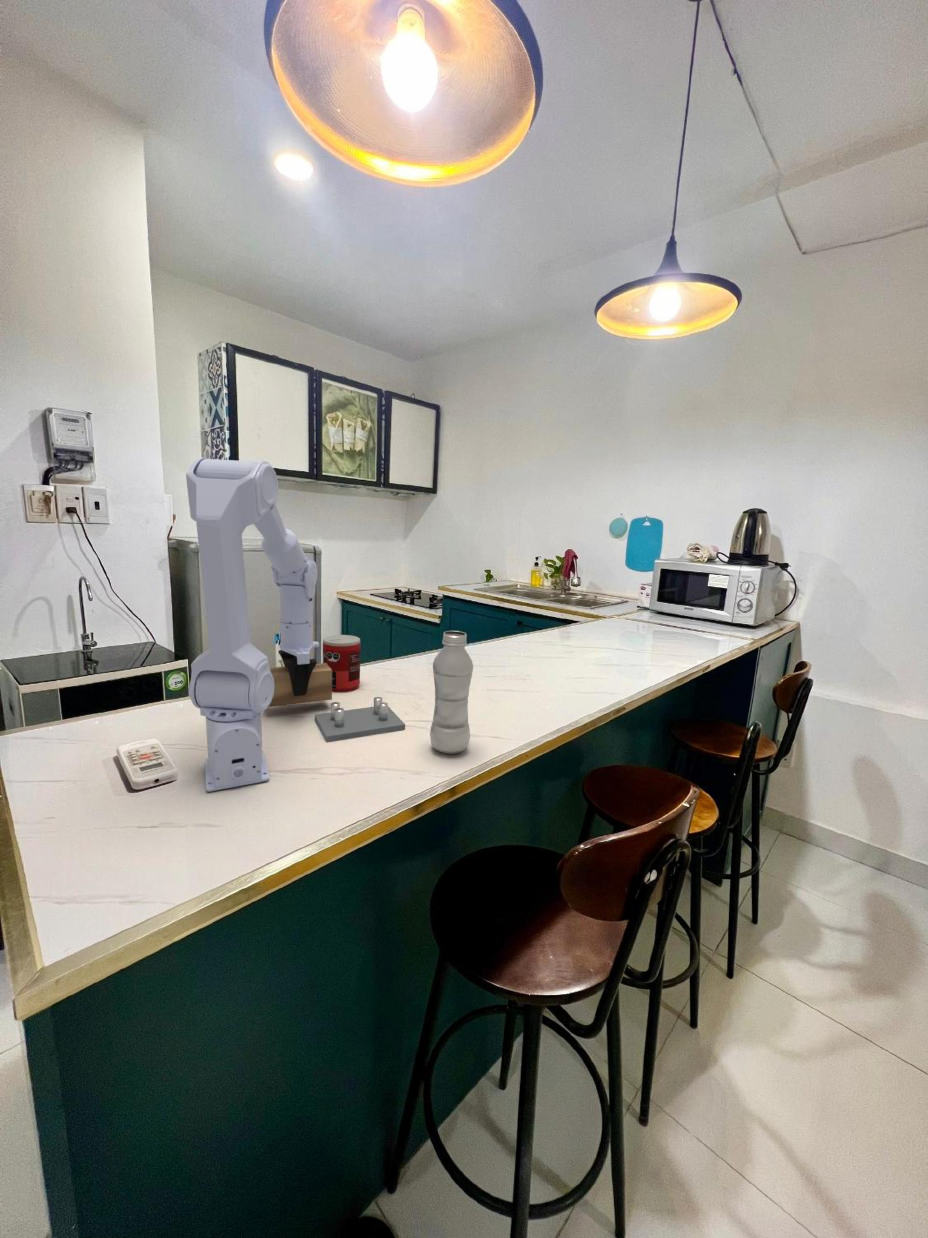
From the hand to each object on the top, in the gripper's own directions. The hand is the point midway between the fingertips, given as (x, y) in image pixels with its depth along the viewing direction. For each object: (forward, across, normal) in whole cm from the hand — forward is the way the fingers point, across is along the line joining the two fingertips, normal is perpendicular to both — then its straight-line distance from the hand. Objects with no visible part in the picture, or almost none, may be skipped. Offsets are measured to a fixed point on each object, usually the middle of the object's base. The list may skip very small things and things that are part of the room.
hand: (297, 690), depth 94 cm
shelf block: (+2, 0, 0) cm, 2 cm away
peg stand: (+4, -11, -9) cm, 15 cm away
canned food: (+4, +10, -11) cm, 16 cm away
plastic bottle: (+4, -26, -20) cm, 33 cm away
